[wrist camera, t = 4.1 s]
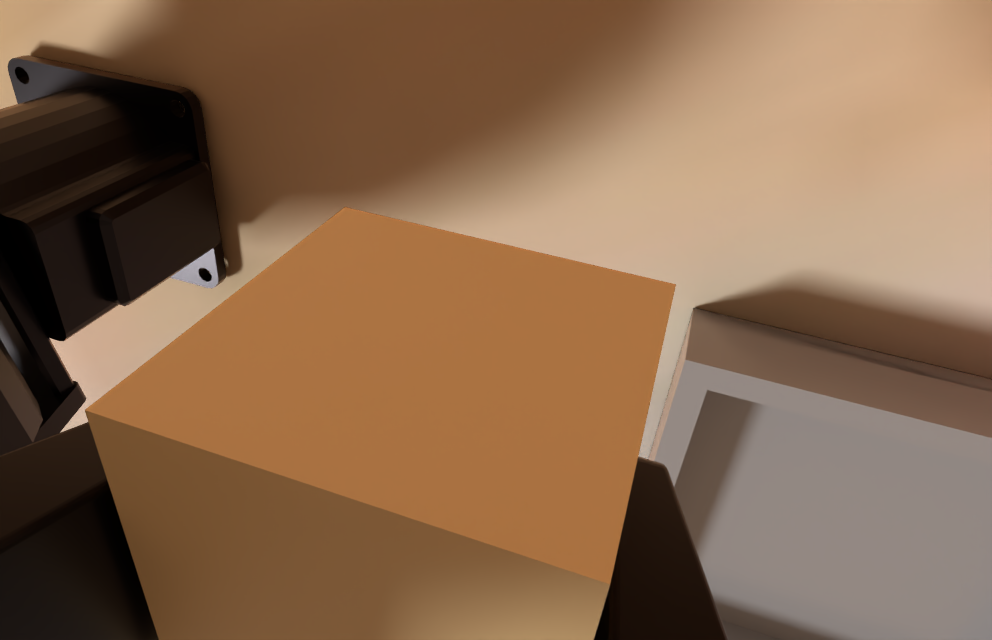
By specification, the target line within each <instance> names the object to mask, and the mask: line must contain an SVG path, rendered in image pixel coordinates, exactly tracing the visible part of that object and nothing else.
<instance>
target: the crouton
mask: <svg viewBox="0 0 992 640" xmlns="http://www.w3.org/2000/svg"><path fill="white" fill-rule="evenodd" d="M675 286H676V284H672V283H667V282H663V281H659V280H655V279H650V278H646V277H642V276H637V275H633V274H629V273H625V272H620V271H616V270H612V269H608V268H603V267H599V266H595V265H590V264H586V263H582V262H578V261H573V260H569V259H565V258H561V257H556V256H552V255H548V254H543V253H539V252H535V251H531V250H526V249H522V248H518V247H513V246H509V245H505V244H501V243H496V242H492V241H488V240H484V239H479V238H475V237H471V236H466V235H462V234H458V233H454V232H449V231H445V230H441V229H437V228H432V227H428V226H424V225H419V224H415V223H411V222H407V221H402V220H398V219H394V218H390V217H385V216H381V215H377V214H372V213H368V212H364V211H360V210H355V209H351V208H347V207H344V208H343V209H342V210H341V211H339V212H338V213H337V214H335V215H334V216H333V217H332V218H330V219H329V220H328V221H326V222H325V223H324V224H323V225H321V226H320V227H319V228H317V229H316V230H315V231H314V232H312V233H311V234H310V235H308V236H307V237H306V238H305V239H303V240H302V241H301V242H300V243H298V244H297V245H296V246H294V247H293V248H292V249H291V250H289V251H288V252H287V253H285V254H284V255H283V256H282V257H280V258H279V259H278V260H276V261H275V262H274V263H273V264H271V265H270V266H269V267H268V268H266V269H265V270H264V271H262V272H261V273H260V274H259V275H257V276H256V277H255V278H253V279H252V280H251V281H250V282H248V283H247V284H246V285H244V286H243V287H242V288H241V289H239V290H238V291H237V292H235V293H234V294H233V295H232V296H230V297H229V298H228V299H227V300H225V301H224V302H223V303H221V304H220V305H219V306H218V307H216V308H215V309H214V310H212V311H211V312H210V313H209V314H207V315H206V316H205V317H203V318H202V319H201V320H200V321H198V322H197V323H196V324H194V325H193V326H192V327H191V328H189V329H188V330H187V331H186V332H184V333H183V334H182V335H180V336H179V337H178V338H177V339H175V340H174V341H173V342H171V343H170V344H169V345H168V346H166V347H165V348H164V349H162V350H161V351H160V352H159V353H157V354H156V355H155V356H153V357H152V358H151V359H150V360H148V361H147V362H146V363H145V364H143V365H142V366H141V367H139V368H138V369H137V370H136V371H134V372H133V373H132V374H130V375H129V376H128V377H127V378H125V379H124V380H123V381H121V382H120V383H119V384H118V385H116V386H115V387H114V388H113V389H111V390H110V391H109V392H107V393H106V394H105V395H104V396H102V397H101V398H100V399H98V400H97V401H96V402H95V403H93V404H92V405H91V406H89V407H88V408H87V409H86V410H85V412H86V415H87V418H88V422H89V425H90V428H91V431H92V434H93V437H94V440H95V443H96V446H97V449H98V453H99V456H100V459H101V462H102V465H103V468H104V471H105V474H106V477H107V480H108V484H109V487H110V490H111V493H112V496H113V499H114V502H115V505H116V508H117V511H118V515H119V518H120V521H121V524H122V527H123V530H124V533H125V536H126V539H127V542H128V545H129V549H130V552H131V555H132V558H133V561H134V564H135V567H136V570H137V573H138V576H139V580H140V583H141V586H142V589H143V592H144V595H145V598H146V601H147V604H148V607H149V611H150V614H151V617H152V620H153V623H154V626H155V629H156V632H157V635H158V638H159V640H594V637H595V634H596V630H597V627H598V624H599V620H600V617H601V614H602V610H603V607H604V603H605V600H606V597H607V593H608V590H609V587H610V583H611V578H612V574H613V569H614V564H615V560H616V555H617V551H618V546H619V542H620V537H621V532H622V528H623V523H624V519H625V514H626V510H627V505H628V501H629V496H630V491H631V487H632V482H633V478H634V473H635V469H636V464H637V459H638V455H639V450H640V446H641V441H642V437H643V432H644V428H645V423H646V418H647V414H648V409H649V405H650V400H651V396H652V391H653V386H654V382H655V377H656V373H657V368H658V364H659V359H660V355H661V350H662V345H663V341H664V336H665V332H666V327H667V323H668V318H669V313H670V309H671V304H672V300H673V295H674V291H675Z"/></svg>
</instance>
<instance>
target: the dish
mask: <svg viewBox="0 0 992 640" xmlns="http://www.w3.org/2000/svg"><path fill="white" fill-rule="evenodd" d="M648 459H649V460H652V461H656V462H659V463H662V464H664V465H665V466H666V467H667V469H668V472H669V474H670V477H671V480H672V483H673V485H674V488H675V491H676V494H677V497H678V499H679V502H680V505H681V508H682V511H683V514H684V516H685V519H686V522H687V525H688V528H689V530H690V533H691V536H692V539H693V542H694V545H695V547H696V550H697V553H698V556H699V559H700V561H701V564H702V567H703V570H704V573H705V576H706V578H707V581H708V584H709V587H710V590H711V592H712V595H713V598H714V601H715V604H716V607H717V609H718V612H719V615H720V618H721V621H722V624H723V626H724V629H725V632H726V635H727V638H728V640H992V379H988V378H984V377H980V376H976V375H972V374H967V373H963V372H959V371H955V370H951V369H947V368H942V367H938V366H934V365H930V364H926V363H922V362H917V361H913V360H909V359H905V358H901V357H897V356H892V355H888V354H884V353H880V352H876V351H871V350H867V349H863V348H859V347H855V346H851V345H846V344H842V343H838V342H834V341H830V340H826V339H821V338H817V337H813V336H809V335H805V334H801V333H796V332H792V331H788V330H784V329H780V328H776V327H771V326H767V325H763V324H759V323H755V322H751V321H746V320H742V319H738V318H734V317H730V316H726V315H721V314H717V313H713V312H709V311H705V310H701V309H696V308H693V311H692V315H691V318H690V321H689V325H688V328H687V332H686V335H685V338H684V342H683V345H682V348H681V352H680V355H679V358H678V362H677V365H676V368H675V372H674V375H673V378H672V382H671V385H670V388H669V392H668V395H667V398H666V402H665V405H664V408H663V412H662V415H661V418H660V422H659V425H658V428H657V432H656V435H655V438H654V442H653V445H652V448H651V452H650V455H649V458H648Z"/></svg>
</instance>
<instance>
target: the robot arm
mask: <svg viewBox="0 0 992 640" xmlns="http://www.w3.org/2000/svg"><path fill="white" fill-rule="evenodd" d="M8 71H9V75H10V79H11V82H12V85H13V89H14V92H15V96H16V99H17V102H18V104H17V105H13V106H10V107H7V108H3V109H0V640H159V638H158V635H157V632H156V629H155V626H154V623H153V620H152V617H151V614H150V611H149V607H148V604H147V601H146V598H145V595H144V592H143V589H142V586H141V583H140V580H139V576H138V573H137V570H136V567H135V564H134V561H133V558H132V555H131V552H130V549H129V545H128V542H127V539H126V536H125V533H124V530H123V527H122V524H121V521H120V518H119V515H118V511H117V508H116V505H115V502H114V499H113V496H112V493H111V490H110V487H109V484H108V480H107V477H106V474H105V471H104V468H103V465H102V462H101V459H100V456H99V453H98V449H97V446H96V443H95V440H94V437H93V434H92V431H91V428H90V425H89V422H87V423H85V424H82V425H79V426H77V427H74V428H72V429H69V430H66V431H64V432H61V430H62V429H63V428H64V427H65V425H66V424H67V423H68V422H69V421H70V419H71V418H72V417H73V416H74V414H75V413H76V412H77V411H78V409H79V408H80V407H81V406H82V404H83V403H84V402H85V401H86V397H85V395H84V393H83V391H82V390H81V388H80V386H79V384H78V382H76V381H72V379H71V377H70V375H69V373H68V372H67V370H66V368H65V366H64V364H63V362H62V361H61V359H60V357H59V355H58V353H57V351H56V350H55V348H54V346H53V344H52V342H51V340H50V339H49V338H52V339H55V340H58V341H65V340H66V339H68V338H69V337H71V336H72V335H74V334H75V333H77V332H78V331H80V330H81V329H83V328H84V327H86V326H87V325H89V324H90V323H92V322H93V321H95V320H96V319H98V318H99V317H101V316H103V315H104V314H106V313H107V312H109V311H110V310H112V309H113V308H115V307H116V306H118V305H123V306H126V305H129V304H131V303H132V302H134V301H135V300H137V299H138V298H140V297H141V296H143V295H144V294H146V293H147V292H149V291H150V290H152V289H153V288H155V287H156V286H158V285H159V284H161V283H162V282H164V281H165V280H167V279H168V278H174V279H177V280H181V281H185V282H188V283H192V284H196V285H199V286H203V287H206V288H213V287H216V286H217V285H218V284H220V283H221V282H223V281H224V279H225V278H226V271H225V264H224V257H223V250H222V243H221V237H220V230H219V223H218V216H217V209H216V203H215V196H214V189H213V182H212V176H211V169H210V162H209V155H208V148H207V142H206V135H205V128H204V121H203V114H202V108H201V105H200V101H199V100H198V98H197V97H196V95H195V94H194V93H193V92H192V91H191V90H189V89H186V88H184V87H179V86H175V85H170V84H165V83H160V82H155V81H150V80H145V79H140V78H136V77H131V76H126V75H121V74H116V73H111V72H106V71H101V70H97V69H92V68H87V67H82V66H77V65H72V64H67V63H62V62H58V61H53V60H48V59H43V58H38V57H33V56H21V57H17V58H12V59H11V60H10V61H9V64H8ZM179 101H180V102H181V103H182V104H183V106H184V108H185V112H184V111H183V110H182V109H181V107H180V104H179ZM207 270H208V271H209V272H210V273H211V274H210V273H209V272H208V271H207ZM60 432H61V433H60ZM594 640H728V638H727V635H726V632H725V629H724V626H723V624H722V621H721V618H720V615H719V612H718V609H717V607H716V604H715V601H714V598H713V595H712V592H711V590H710V587H709V584H708V581H707V578H706V576H705V573H704V570H703V567H702V564H701V561H700V559H699V556H698V553H697V550H696V547H695V545H694V542H693V539H692V536H691V533H690V530H689V528H688V525H687V522H686V519H685V516H684V514H683V511H682V508H681V505H680V502H679V499H678V497H677V494H676V491H675V488H674V485H673V483H672V480H671V477H670V474H669V472H668V469H667V467H666V466H665V465H664V464H662V463H659V462H656V461H652V460H649V459H645V458H642V457H638V459H637V464H636V469H635V473H634V478H633V482H632V487H631V491H630V496H629V501H628V505H627V510H626V514H625V519H624V523H623V528H622V532H621V537H620V542H619V546H618V551H617V555H616V560H615V564H614V569H613V574H612V578H611V583H610V587H609V590H608V593H607V597H606V600H605V603H604V607H603V610H602V614H601V617H600V620H599V624H598V627H597V630H596V634H595V637H594Z"/></svg>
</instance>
